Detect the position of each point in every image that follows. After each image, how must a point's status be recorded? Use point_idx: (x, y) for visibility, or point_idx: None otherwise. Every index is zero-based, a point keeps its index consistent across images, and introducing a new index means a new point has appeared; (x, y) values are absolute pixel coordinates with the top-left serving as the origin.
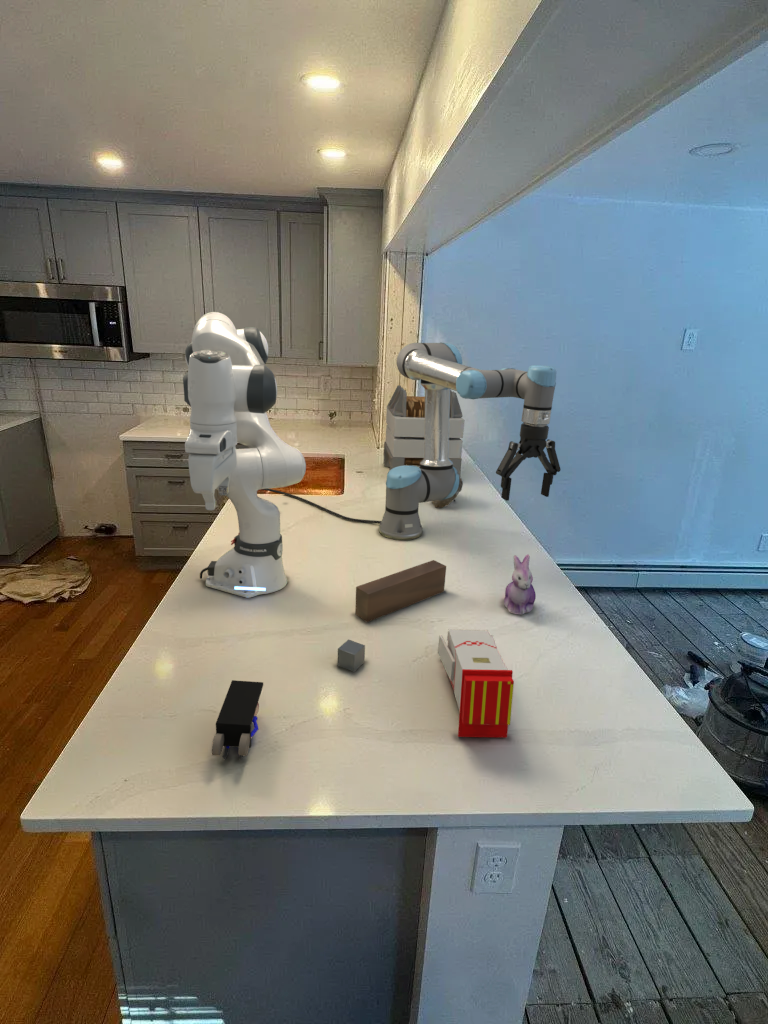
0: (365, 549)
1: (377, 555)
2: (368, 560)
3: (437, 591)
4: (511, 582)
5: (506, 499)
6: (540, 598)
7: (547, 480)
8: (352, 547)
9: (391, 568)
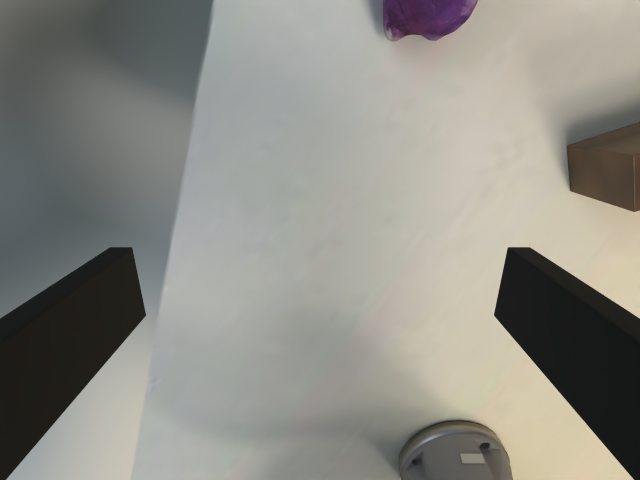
0: None
1: None
2: None
3: (602, 137)
4: (464, 2)
5: (534, 253)
6: (328, 11)
7: (25, 355)
8: None
9: None
